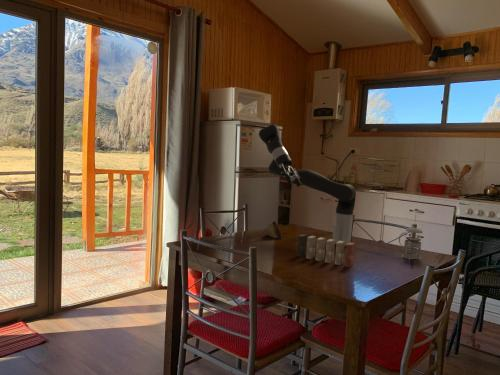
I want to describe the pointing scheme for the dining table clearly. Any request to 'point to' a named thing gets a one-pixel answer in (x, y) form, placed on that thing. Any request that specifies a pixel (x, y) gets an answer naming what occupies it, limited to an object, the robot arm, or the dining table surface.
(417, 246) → the french press
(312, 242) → the domino
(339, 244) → the domino
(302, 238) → the domino
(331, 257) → the domino
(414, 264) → the dining table surface
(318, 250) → the domino
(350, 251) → the domino
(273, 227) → the rock
